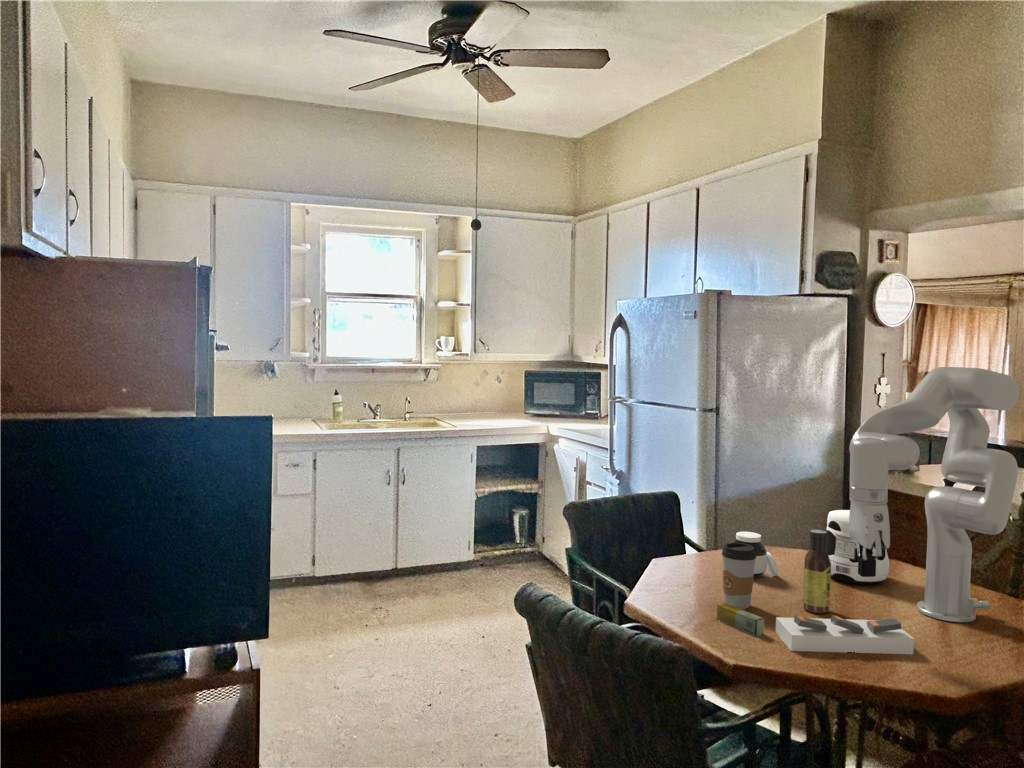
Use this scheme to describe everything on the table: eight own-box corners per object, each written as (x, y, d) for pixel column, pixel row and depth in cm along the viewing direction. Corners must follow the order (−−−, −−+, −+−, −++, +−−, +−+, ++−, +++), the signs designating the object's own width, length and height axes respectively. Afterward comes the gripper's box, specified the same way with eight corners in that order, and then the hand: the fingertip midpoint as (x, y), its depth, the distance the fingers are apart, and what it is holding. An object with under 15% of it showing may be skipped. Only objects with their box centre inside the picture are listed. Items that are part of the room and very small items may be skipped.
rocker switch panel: (890, 635, 165) (890, 619, 165) (913, 654, 155) (914, 637, 155) (775, 632, 166) (776, 616, 166) (791, 650, 156) (791, 634, 156)
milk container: (875, 570, 213) (878, 510, 212) (898, 590, 196) (901, 525, 195) (814, 567, 216) (816, 507, 215) (831, 586, 199) (834, 521, 198)
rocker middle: (855, 628, 160) (858, 623, 160) (862, 634, 157) (864, 628, 157) (830, 619, 160) (832, 614, 160) (836, 625, 157) (838, 619, 157)
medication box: (764, 635, 165) (765, 618, 165) (756, 637, 163) (757, 620, 163) (723, 618, 175) (723, 601, 175) (715, 619, 174) (716, 603, 173)
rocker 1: (820, 626, 160) (821, 620, 160) (825, 631, 157) (827, 625, 157) (793, 620, 160) (794, 614, 160) (798, 626, 157) (799, 620, 157)
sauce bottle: (832, 616, 177) (835, 535, 176) (805, 613, 178) (808, 534, 177) (826, 606, 183) (829, 529, 182) (800, 604, 185) (803, 527, 183)
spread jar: (724, 571, 210) (725, 531, 210) (752, 566, 216) (754, 527, 215) (756, 583, 200) (757, 542, 199) (784, 578, 205) (786, 537, 205)
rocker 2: (894, 623, 160) (893, 617, 160) (901, 628, 157) (900, 622, 157) (867, 627, 160) (866, 621, 160) (873, 632, 157) (873, 626, 157)
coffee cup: (712, 602, 185) (714, 544, 184) (737, 597, 189) (739, 540, 188) (736, 613, 178) (738, 553, 177) (761, 608, 181) (763, 549, 180)
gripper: (903, 502, 152) (901, 587, 153) (869, 486, 167) (867, 564, 168) (867, 503, 152) (865, 588, 154) (836, 487, 167) (835, 564, 168)
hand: (866, 575), depth 161 cm, fingers closed
